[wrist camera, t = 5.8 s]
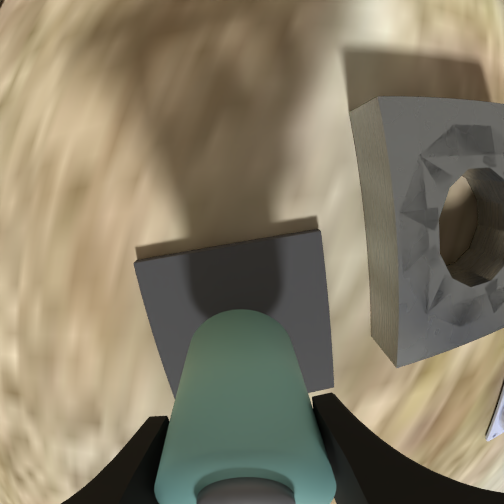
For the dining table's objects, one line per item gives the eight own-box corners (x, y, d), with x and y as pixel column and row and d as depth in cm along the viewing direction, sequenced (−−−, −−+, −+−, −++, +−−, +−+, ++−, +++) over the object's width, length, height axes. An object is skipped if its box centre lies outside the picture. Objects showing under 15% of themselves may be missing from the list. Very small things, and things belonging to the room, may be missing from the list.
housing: (489, 113, 14) (527, 107, 11) (496, 297, 17) (529, 315, 14) (349, 112, 14) (377, 96, 11) (371, 336, 17) (396, 368, 13)
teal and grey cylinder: (289, 302, 13) (346, 446, 5) (295, 390, 14) (334, 534, 6) (179, 315, 13) (123, 462, 5) (199, 400, 14) (180, 546, 6)
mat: (317, 228, 15) (320, 231, 15) (331, 381, 17) (334, 387, 17) (137, 260, 15) (133, 263, 15) (180, 404, 17) (179, 410, 17)
